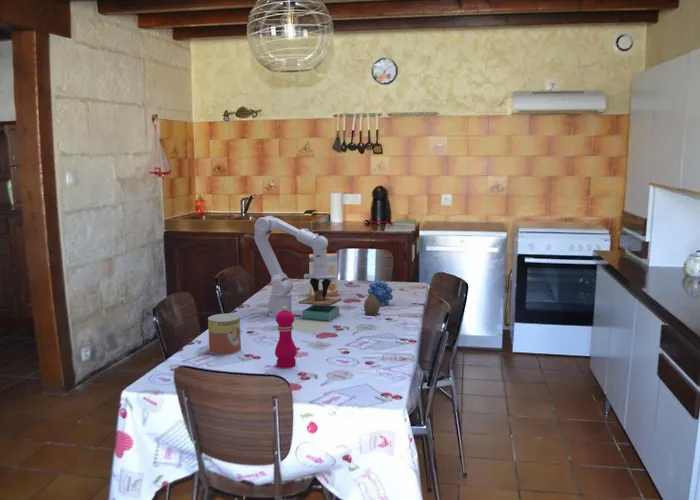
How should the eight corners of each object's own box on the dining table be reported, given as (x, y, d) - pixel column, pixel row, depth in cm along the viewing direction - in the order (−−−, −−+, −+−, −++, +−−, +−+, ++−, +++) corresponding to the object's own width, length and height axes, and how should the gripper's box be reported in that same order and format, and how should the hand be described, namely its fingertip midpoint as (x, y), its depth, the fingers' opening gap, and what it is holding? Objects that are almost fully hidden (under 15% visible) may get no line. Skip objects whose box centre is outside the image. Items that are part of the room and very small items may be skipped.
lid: (298, 303, 257) (298, 292, 257) (311, 298, 270) (311, 287, 270) (329, 306, 252) (329, 294, 252) (341, 300, 265) (341, 289, 265)
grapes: (367, 307, 280) (367, 281, 278) (368, 303, 287) (367, 278, 285) (392, 307, 279) (392, 281, 278) (392, 304, 286) (392, 278, 284)
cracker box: (337, 293, 309) (337, 252, 306) (338, 296, 303) (337, 254, 300) (309, 294, 308) (308, 253, 305) (309, 297, 302) (308, 255, 299)
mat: (280, 330, 244) (280, 328, 244) (297, 320, 259) (297, 319, 259) (317, 333, 239) (317, 332, 239) (332, 323, 254) (332, 322, 254)
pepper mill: (275, 361, 206) (274, 303, 203) (297, 360, 207) (295, 303, 204) (274, 369, 199) (273, 309, 196) (297, 368, 200) (295, 308, 197)
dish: (302, 319, 259) (302, 310, 259) (313, 313, 271) (313, 304, 270) (329, 322, 255) (329, 312, 255) (339, 315, 267) (339, 306, 266)
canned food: (225, 356, 212) (224, 323, 210) (202, 351, 218) (200, 318, 216) (247, 348, 222) (246, 315, 220) (224, 343, 228) (223, 312, 226)
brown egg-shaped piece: (378, 316, 264) (378, 296, 262) (362, 315, 265) (362, 296, 264) (380, 312, 271) (380, 293, 269) (365, 311, 272) (365, 292, 271)
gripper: (300, 265, 258) (301, 297, 260) (332, 267, 253) (333, 299, 255) (307, 262, 265) (308, 293, 267) (338, 264, 260) (339, 295, 262)
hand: (320, 296), depth 261 cm, fingers closed on lid, 3 cm apart
